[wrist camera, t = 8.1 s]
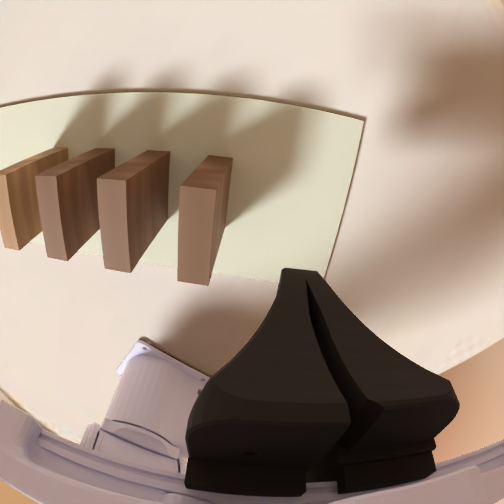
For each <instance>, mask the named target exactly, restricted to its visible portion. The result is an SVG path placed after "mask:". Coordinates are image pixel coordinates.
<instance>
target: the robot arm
mask: <svg viewBox="0 0 504 504" xmlns="http://www.w3.org/2000/svg"><path fill="white" fill-rule="evenodd" d="M116 373H117V374H118V375H119V376H121V379H120V381H119V384H118V386H117V388H116V391H115V393H114V396H113V398H112V401H111V403H110V406H109V409H108V411H107V414H106V416H105V419H104V421H103V423H102V425H101V426H100V425H99V424H97V423H93V424H90V425H88V426H87V428H86V431H85V433H84V436H83V438H82V441H81V444H80V445H79V444H77V443H74V442H72V441H69V440H67V439H64V438H62V437H60V436H57V435H55V434H53V433H51V432H49V431H46V430H44V429H42V428H41V426H40V424H39V423H38V422H37V421H36V420H35V419H34V418H33V417H32V416H31V415H29V414H28V413H26V412H25V411H23V410H21V409H19V408H17V407H15V406H13V405H12V404H10V403H8V402H6V401H4V400H1V401H0V479H1V480H2V481H3V482H5V483H6V484H8V485H9V486H11V487H13V488H14V489H16V490H17V491H19V492H20V493H22V494H24V495H25V496H27V497H29V498H30V499H32V500H34V501H36V502H37V503H39V504H494V503H496V502H498V501H499V500H501V499H503V498H504V440H501V441H499V442H497V443H494V444H492V445H490V446H487V447H484V448H482V449H479V450H477V451H474V452H471V453H468V454H465V455H462V456H459V457H456V458H453V459H450V460H447V461H443V462H440V463H436V464H435V462H434V458H433V454H432V450H434V449H435V448H436V444H435V440H434V437H436V436H437V434H439V433H440V432H441V431H442V430H443V429H444V428H445V427H446V426H447V425H448V424H449V423H450V422H451V421H452V420H453V419H454V418H455V416H456V414H457V412H458V410H459V405H460V404H459V401H458V399H457V396H456V394H455V392H454V389H453V387H452V385H451V383H450V381H449V380H447V379H445V378H443V377H441V376H439V375H437V374H435V373H432V372H430V371H428V370H426V369H424V368H423V367H421V366H419V365H418V364H416V363H414V362H412V361H411V360H409V359H408V358H406V357H405V356H403V355H401V354H400V353H398V352H397V351H396V350H394V349H393V348H392V347H390V346H389V345H388V344H386V343H385V342H384V341H382V340H381V339H380V338H379V337H377V336H376V335H375V334H374V333H373V332H372V331H371V330H369V329H368V328H367V327H366V326H365V325H364V324H363V323H362V322H361V321H360V320H359V319H358V318H357V317H356V316H355V315H354V314H353V313H352V312H351V311H350V310H349V309H348V308H347V306H346V305H345V304H344V303H343V302H342V301H341V300H340V298H339V297H338V296H337V295H336V294H335V292H334V291H333V290H332V289H331V287H330V286H329V285H328V284H327V283H326V281H325V280H324V279H323V277H322V276H321V275H320V274H319V273H318V271H312V270H303V269H294V268H283V269H282V270H281V275H280V280H279V285H278V291H277V296H276V298H275V301H274V303H273V305H272V307H271V309H270V311H269V312H268V314H267V316H266V318H265V319H264V321H263V322H262V324H261V325H260V327H259V328H258V330H257V331H256V333H255V334H254V335H253V336H252V338H251V339H250V340H249V342H248V343H247V344H246V345H245V346H244V347H243V348H242V349H241V350H240V351H239V352H238V354H237V355H236V356H235V357H234V358H233V359H232V360H231V361H230V362H228V363H227V364H226V365H225V366H224V367H223V368H221V369H220V370H219V371H218V372H217V373H215V374H214V375H213V376H212V377H208V376H206V375H204V374H202V373H200V372H199V371H197V370H195V369H193V368H191V367H189V366H187V365H185V364H183V363H181V362H179V361H178V360H176V359H174V358H172V357H170V356H169V355H167V354H165V353H163V352H161V351H160V350H158V349H156V348H154V347H153V346H151V345H149V344H148V343H146V342H144V341H142V340H138V341H137V342H136V344H135V345H134V346H133V348H132V349H131V350H130V352H129V353H128V355H127V356H126V357H125V359H124V360H123V361H122V363H121V364H120V366H119V367H118V368H117V370H116ZM99 427H100V428H99ZM182 458H188V463H187V466H186V464H185V462H184V460H183V459H182Z"/></svg>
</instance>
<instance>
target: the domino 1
mask: <svg viewBox="0 0 504 504" xmlns="http://www.w3.org/2000/svg"><path fill="white" fill-rule="evenodd" d="M67 160H68V148H52V149H49V150H46V151H44V152H41V153H39V154H36V155H34V156H31V157H29V158H27V159H24V160H22V161H20V162H17V163H15V164H13V165H11V166H9V167H6V168H4V169H2V170H0V230H1V234H2V239H3V243H4V247H5V248H10V249H14V250H20V249H22V248H23V247H24V246H25V245H26V244H27V243H29V242H30V241H31V240H32V239H33V238H35V237H36V236H37V235H38V234H40V233H41V232H42V225H41V219H40V212H39V205H38V198H37V189H36V179H35V176H36V175H38V174H40V173H42V172H44V171H46V170H48V169H50V168H52V167H54V166H56V165H58V164H60V163H63V162H65V161H67Z"/></svg>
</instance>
